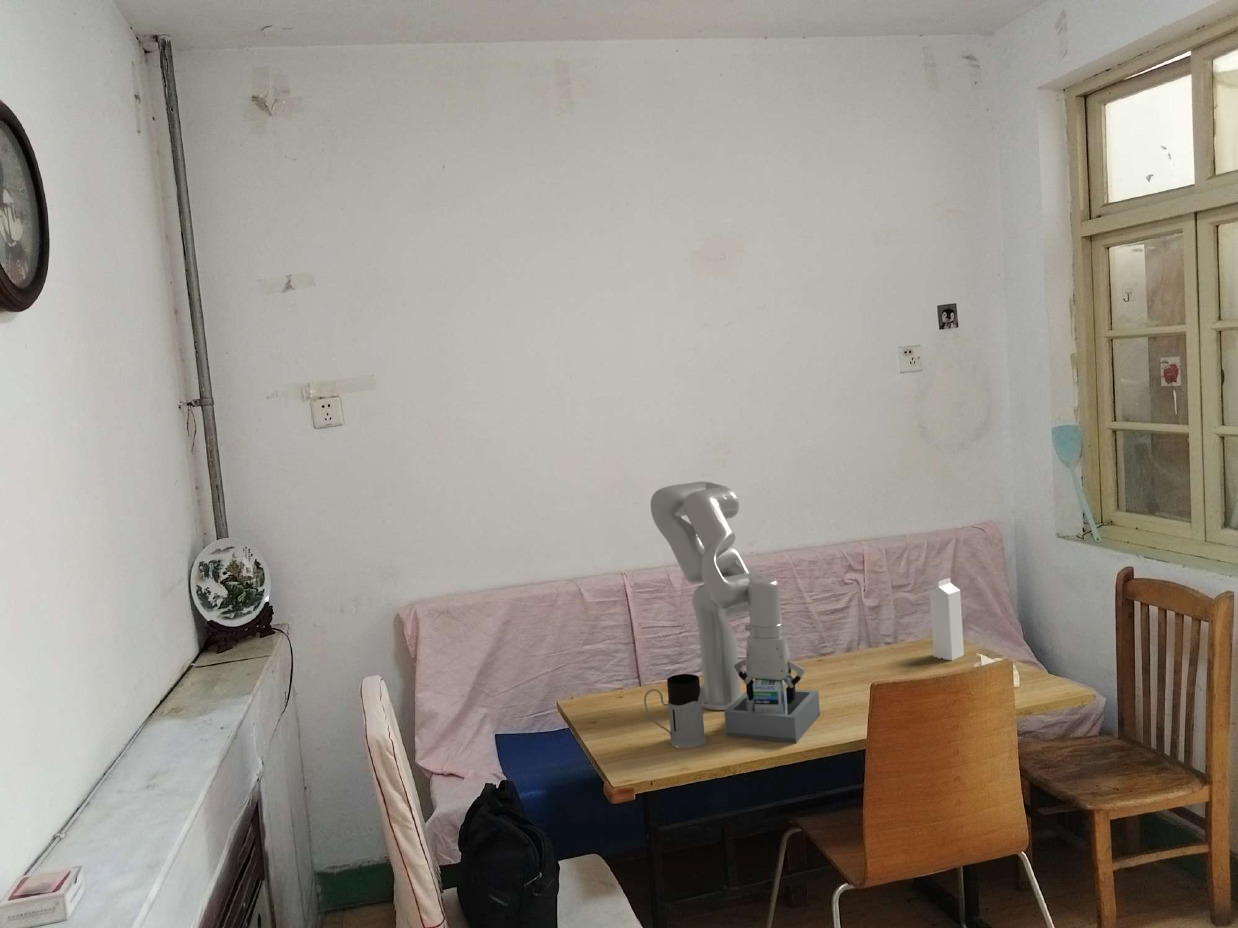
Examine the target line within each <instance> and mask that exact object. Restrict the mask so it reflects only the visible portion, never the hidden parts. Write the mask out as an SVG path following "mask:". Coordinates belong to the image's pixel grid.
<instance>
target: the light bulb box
mask: <svg viewBox="0 0 1238 928" xmlns="http://www.w3.org/2000/svg"><path fill="white" fill-rule="evenodd" d="M753 681H754V683H753V693H754V705H755V712H764V713H775V714H787V715H788V710H787V697H786V688H787V687H786V685H787V684H786V683H785V682H784V680H782V681H777V680H763V679H753Z"/></svg>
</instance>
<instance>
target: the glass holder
mask: <svg viewBox="0 0 1238 928" xmlns="http://www.w3.org/2000/svg"><path fill="white" fill-rule="evenodd" d="M666 683H667V684H666V686H667V697H668V700H667V702H668V703H664V697H663V694H662V692H660V690H659V689H656V688H655V689H654V688H652V689H649V690H647V692H645V695H644V698H643V703H644V704H643V706H644V709H645V712H646V714H647V716H648V718H649V719H650V721H652V722H653V723H654V724H655V725H657V726H658V727H660V728H661V729H662V730H665V731H666V732H668V734H669V737H670V739H669V744H670V743H671V744H672V745H674V746H678V747H680V748H679V749H693V747H695V748H698V747H697V746H699V747H701V746H704V745H705V744H706V743H707V742H708V739H707V737H706V734H705V725H704V712H703V711H704V710H703V707H702V698H701V688H700V685H701V684H700V677H699V676H698V675H696V674H693V673H692V674H691V673H680V674H674V675H671V676H669V677H668V678H667V679H666ZM652 692H657V693H658V694H659V696H660V701H661V704H662V705H663V706H664V707H665V706H666V707H667V706H668V717H669V718H668V719H669V726H670V727H669V729H670V730H669V729H667V728H666V727H665V726H663V725H661V724H659V723H658V722H657V721H656V720H654V718H653V717H652V715H651V714H650V712H649V709H648V706H647V697H648V695H649V694H650V693H652ZM706 741H707V742H706ZM704 743H705V744H704ZM672 745H671V746H672ZM674 746H673V747H674Z"/></svg>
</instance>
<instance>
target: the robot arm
mask: <svg viewBox="0 0 1238 928" xmlns="http://www.w3.org/2000/svg"><path fill="white" fill-rule="evenodd" d="M739 509H740V503H739V499H738V497H737V494H736V493H735V492H734V491H733V490H732V488H730V487H728V486H725V485H723V484H722V485H721V484H719V483H714V482H710V481H705V480H704V481H703V480H702V481H701V480H700V481H695V482H693V481H692V482H686V483H680V484H674V485H673V484H672V485H668V486H665V487H661V488H659V489H657V490H656V491H655V492H654V493H653V494H652V496H651V499H650V512H651V513H650V514H651V516H652V520H653V521H654V524H655V526H656V527H657V529H658V531H659V532H660V534H661V535H662V536H663V537H664V539H665V540H666V542H667V543H668V544H669V546H670V549H671V551H672V552H673V555H674V558H675V559H676V561H677V563H678V565H679V567H680V569H681V571H682V573H683V575H684V578H686V580H687V581H688V582H689V583H690V584H695V585H697V584H698V585H699V584H701V585H699V586H698V587H697V588H696V589H695V590H694V591H693V594H692V597H691V599H692V607H693V611H694V614H695V618H696V621H697V623H696V624H697V628H698V639H699V647H700V649H699V650H700V659H701V661H700V662H701V674H702V684H700V688H701V698H702V709H706V710H712V711H713V710H714V711H725V710H726V709H728V708H729V707H730V706H731V705H732V704H733V703H734V702H735V701H736V700H737V699H739V698H740V697H741V696H742V695H743V694H744V693H745V692H746V691H747V696H748V698H749V701H751V700H753V699H754V693H753V683H754V680H755V679H763V680H777V681H782V680H784V682H785V683H786V685H787V687H786V691H787V703H788V704H791V703H792V702H793V701H794V700H795V698H796V693H795V689H796V685H797V684H798V683H799V682H800V681H801V680H802V678H803V676H804V674H805V671H806V668H804V667H803V666H802V665H800V664H798V663H796V662H795V661H792V660H791V653H790V648H789V645H788V640H787V636H786V635H785V634H784V631H783V616H782V602H781V588H780V583H779V581H778V580H777V579H775V578H771V577H766V576H765V575H763V574H762V573H760V572H756V571H752V572H749V570H748V568H747V566H746V564H745V563H744V561H743V558H742V556H741V555H740V553H739V552H738V550H737V549H736V548H735V547H734V546H733V545H734V543H735V541H736V534H735V532H734V529H732V526H731V525H730V522H729V521H728V520H729V519H732V518H734V517H735V516H736V515H737V514H738V512H739ZM683 516H686V517H687V519H688V520H689V521H687V520H686V519H683V518H682V517H683ZM747 613H749V624H745V626H744V629H745V631H748V632H749V635H748V636H747V639H746V650H745V658H744V659H743V660H741V661H739V653H738V651H739V650H738V642H737V641H738V639H737V633H736V631H735V629H734V628H733V626H732V625H731V624H730V623H729V621H728V618H731V617H735V616H738V615H739V616H740V615H743V614H747ZM743 667H745V670H744V668H743ZM792 670H793V671H795V672H796V675H795V677H794V676H793V675H792ZM741 680H742V681H743V683H744V684H745V686H746V691H745V692H742V691H741Z"/></svg>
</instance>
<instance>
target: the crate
mask: <svg viewBox="0 0 1238 928" xmlns="http://www.w3.org/2000/svg"><path fill="white" fill-rule="evenodd" d="M743 693H744V694H743V695H742V696H741V697H740V698H739V699H737V700H736V701H735V702H734V703H733V704H732V705H731V706H730V707H729V708H728V709H726V710H723V711H724V713H723V714H724V723H725V725H724V727H725V736H726V737H729V738H730V737H731V738H738V739H739V738H741V739H750V740H759V741H760V740H761V741H762V740H763V741H771V742H779V741H780V743H788V744H789V743H791V744H792V743H793V744H797V743H798V742H799V740H801V738H802V737H803V735H805V733H806V732H807V731H808V730H809V728H811V726H812V725H813V724H814V722H816V720H817V719H818V718H819V717H820V715H821V712H820V710H821V709H820V697H819V690H811V689H810V690H809V689H808V690H807V689H796V688H795V693H796V698H795V700H794V701H793V702H792V703H791V704H788V703H787V710H788V715H787V714H775V713H764V712H755V705H754V699H753V700H751V701H749V698H748V696H747V691H745V692H743ZM786 697H787V691H786Z"/></svg>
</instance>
